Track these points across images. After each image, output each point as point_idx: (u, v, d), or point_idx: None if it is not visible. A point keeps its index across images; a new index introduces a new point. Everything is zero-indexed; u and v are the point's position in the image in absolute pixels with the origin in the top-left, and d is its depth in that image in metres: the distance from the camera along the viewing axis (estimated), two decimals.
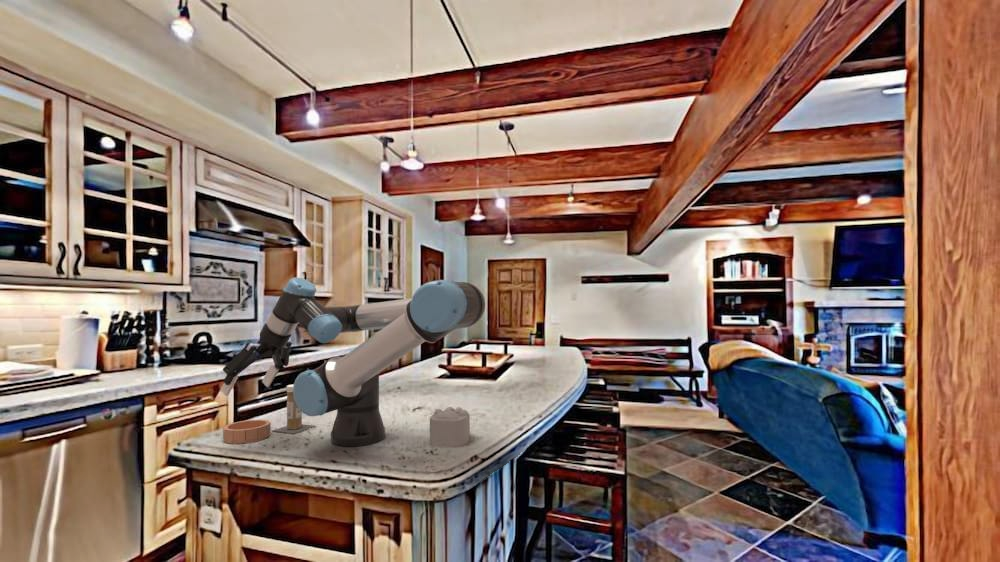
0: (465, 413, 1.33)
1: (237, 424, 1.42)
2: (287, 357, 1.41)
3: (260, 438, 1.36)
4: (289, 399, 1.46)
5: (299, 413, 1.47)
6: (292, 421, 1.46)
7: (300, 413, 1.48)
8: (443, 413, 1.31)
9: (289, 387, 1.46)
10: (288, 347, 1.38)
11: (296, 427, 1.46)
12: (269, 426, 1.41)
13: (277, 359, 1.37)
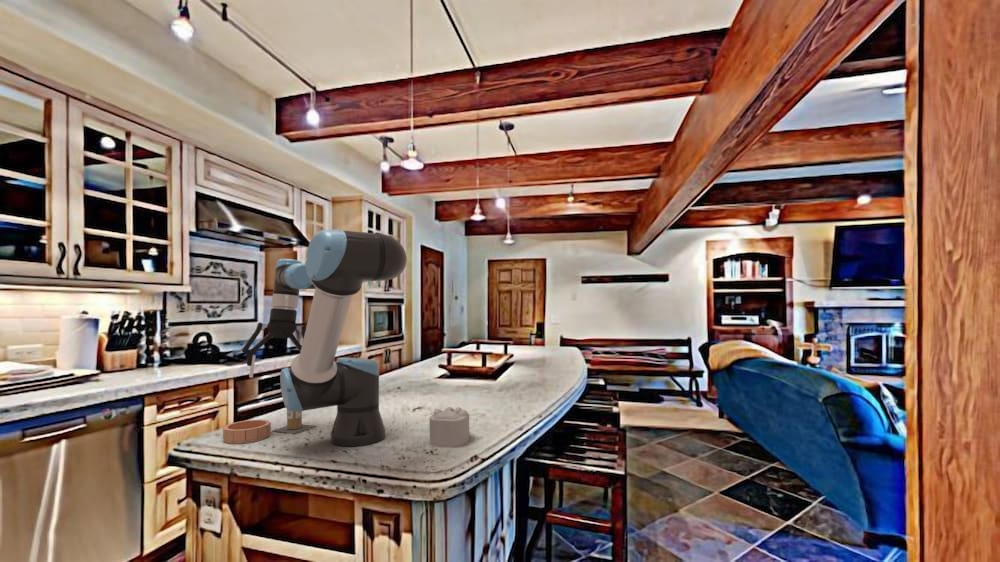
0: (465, 413, 1.33)
1: (237, 424, 1.42)
2: None
3: (260, 438, 1.36)
4: None
5: (299, 413, 1.47)
6: (292, 421, 1.46)
7: (300, 413, 1.48)
8: (443, 413, 1.31)
9: None
10: (303, 330, 1.49)
11: (296, 427, 1.46)
12: (269, 426, 1.41)
13: (296, 343, 1.48)
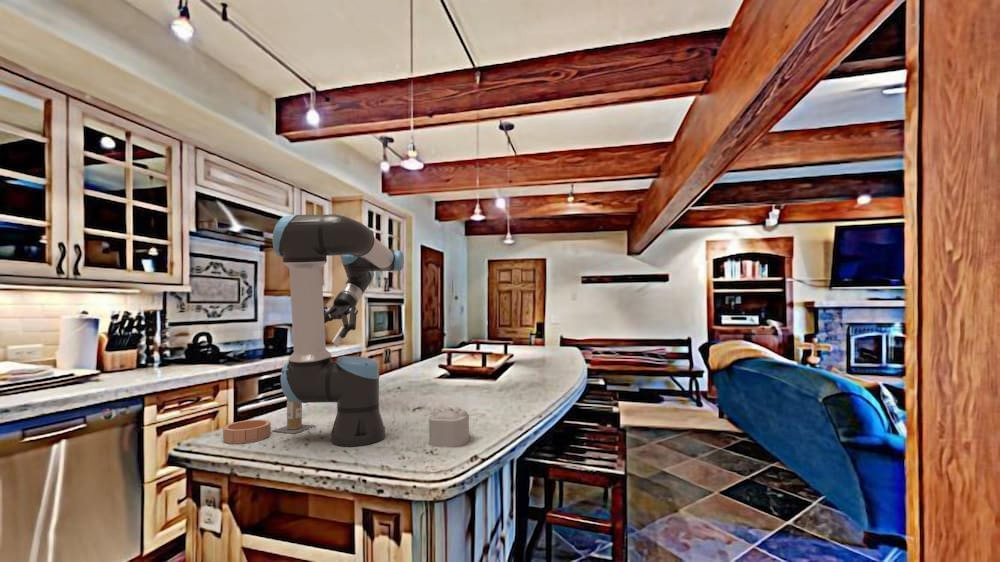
0: (464, 413, 1.33)
1: (237, 424, 1.42)
2: (351, 317, 1.63)
3: (260, 438, 1.36)
4: None
5: (299, 413, 1.47)
6: (292, 421, 1.46)
7: (300, 413, 1.48)
8: (442, 413, 1.31)
9: None
10: (352, 309, 1.66)
11: (296, 427, 1.46)
12: (269, 426, 1.41)
13: (342, 318, 1.64)
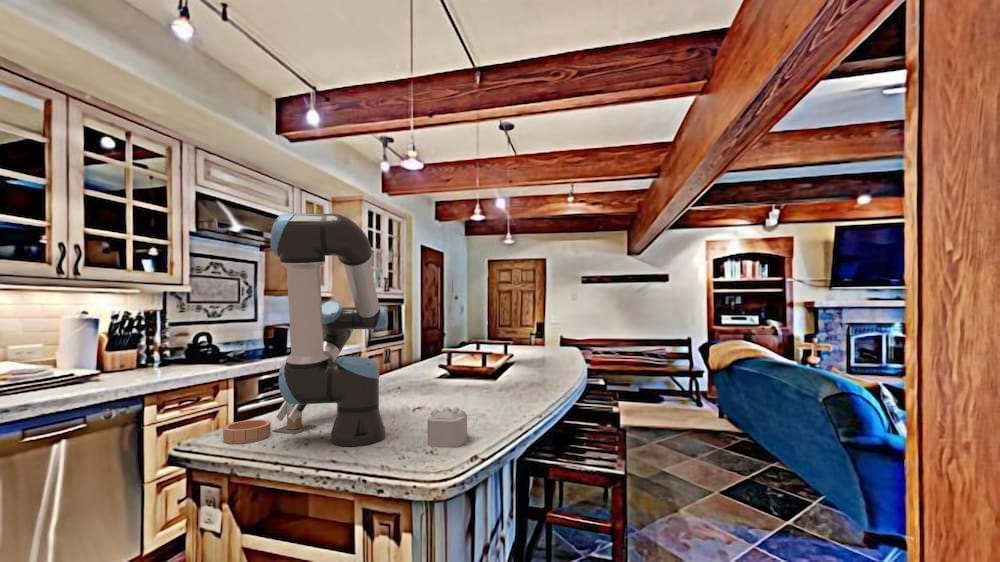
0: (463, 413, 1.32)
1: (237, 424, 1.42)
2: None
3: (260, 438, 1.36)
4: None
5: None
6: None
7: (300, 413, 1.48)
8: (441, 414, 1.31)
9: None
10: None
11: (296, 427, 1.46)
12: (269, 426, 1.41)
13: None
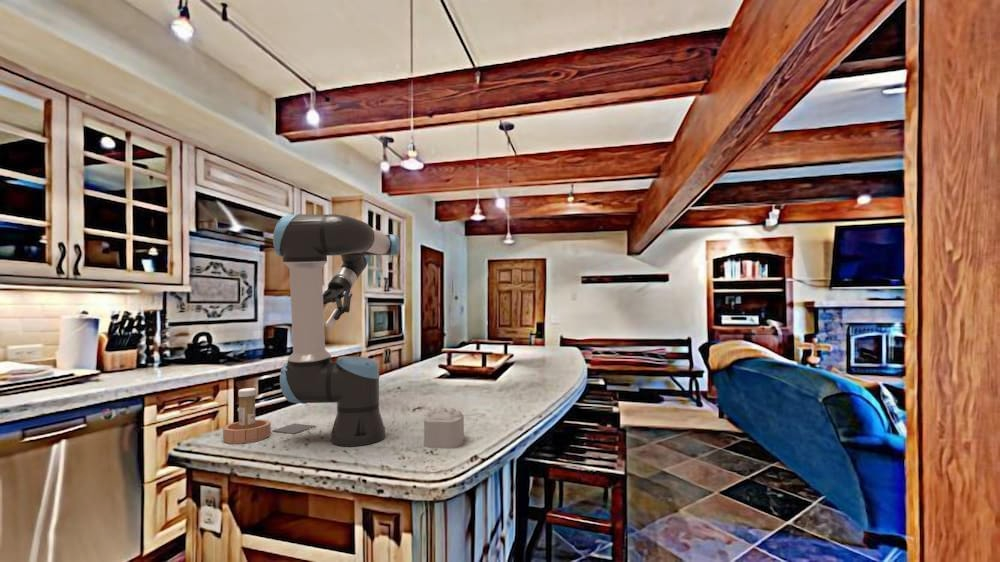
0: (460, 414, 1.32)
1: (237, 424, 1.42)
2: (345, 300, 1.63)
3: (260, 438, 1.36)
4: (241, 404, 1.38)
5: (252, 419, 1.38)
6: (244, 427, 1.37)
7: (253, 419, 1.39)
8: (438, 414, 1.30)
9: (241, 391, 1.38)
10: (346, 292, 1.66)
11: None
12: (269, 426, 1.41)
13: (336, 300, 1.64)
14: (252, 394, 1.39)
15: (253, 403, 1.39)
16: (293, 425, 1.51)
